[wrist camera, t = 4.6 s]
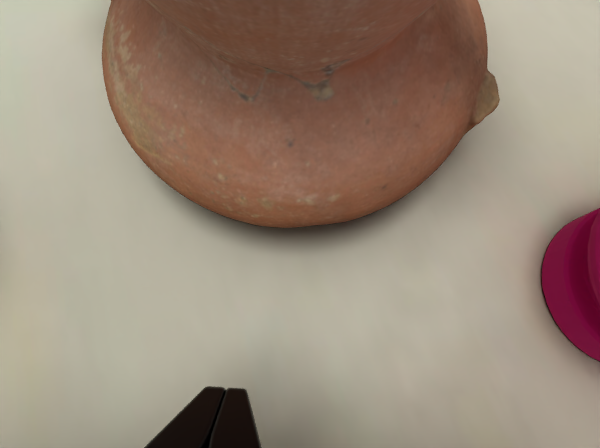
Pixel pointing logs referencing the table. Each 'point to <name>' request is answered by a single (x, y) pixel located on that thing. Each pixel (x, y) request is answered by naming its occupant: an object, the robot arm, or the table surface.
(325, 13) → the ceramic jug
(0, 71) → the table surface
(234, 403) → the robot arm
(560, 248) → the pepper mill
